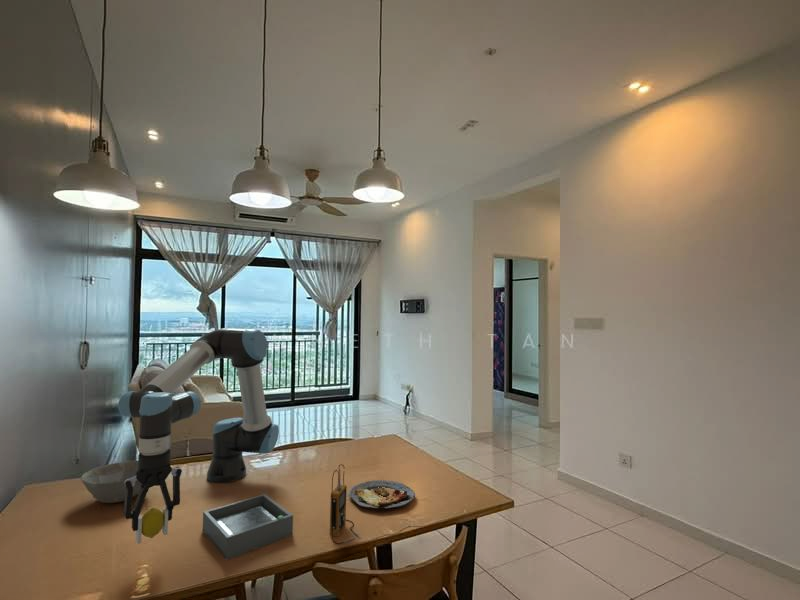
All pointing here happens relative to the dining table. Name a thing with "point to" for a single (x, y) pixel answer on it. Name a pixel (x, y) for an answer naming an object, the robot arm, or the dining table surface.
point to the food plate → (371, 500)
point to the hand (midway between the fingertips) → (151, 536)
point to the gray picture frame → (245, 520)
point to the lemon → (152, 522)
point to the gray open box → (249, 537)
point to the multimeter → (338, 509)
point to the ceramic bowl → (111, 481)
